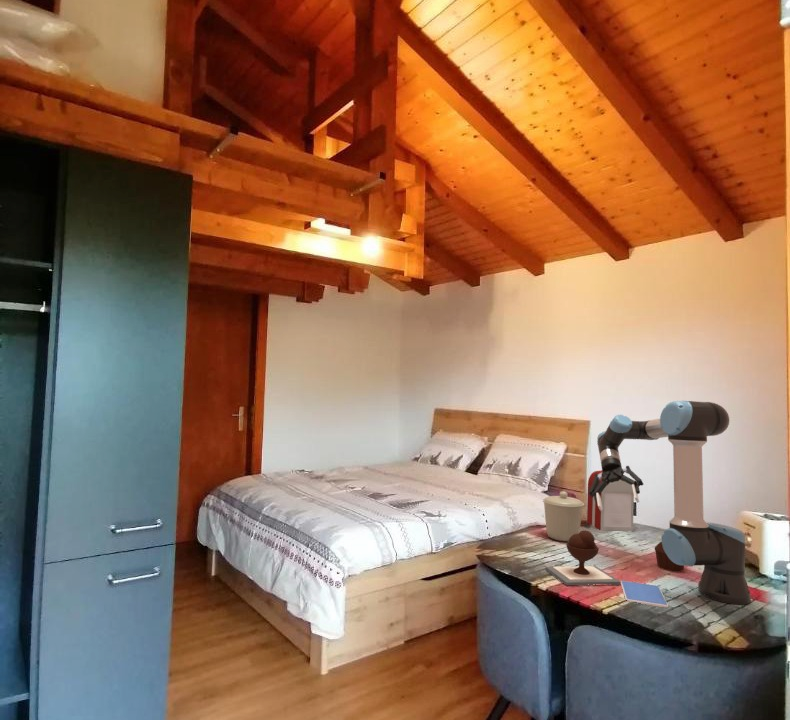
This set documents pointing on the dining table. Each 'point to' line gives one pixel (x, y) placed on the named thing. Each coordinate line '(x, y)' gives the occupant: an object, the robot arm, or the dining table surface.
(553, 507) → the canister
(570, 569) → the sheet
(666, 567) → the muffin
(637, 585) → the tablet computer
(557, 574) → the mat
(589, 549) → the ice cream bowl
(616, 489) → the striped arched panel rack
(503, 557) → the dining table surface
